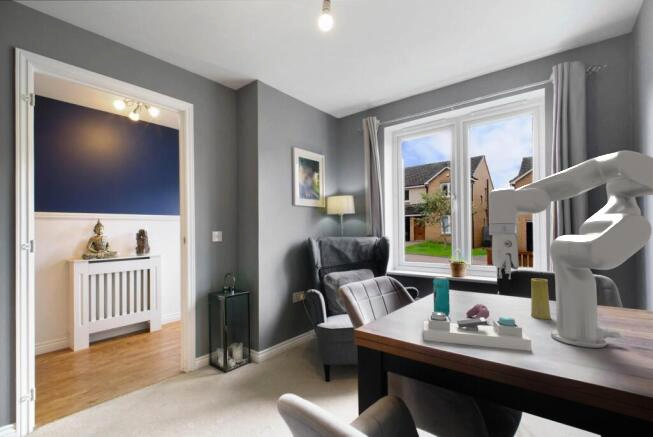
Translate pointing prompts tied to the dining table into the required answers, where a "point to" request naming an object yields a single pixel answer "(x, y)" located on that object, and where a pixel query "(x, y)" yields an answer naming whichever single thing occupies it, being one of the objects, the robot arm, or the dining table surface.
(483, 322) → the rocker switch
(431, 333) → the control panel
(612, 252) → the robot arm
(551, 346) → the dining table surface
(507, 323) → the teal button
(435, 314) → the steel button
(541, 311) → the vase
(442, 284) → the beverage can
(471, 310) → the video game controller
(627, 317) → the dining table surface
